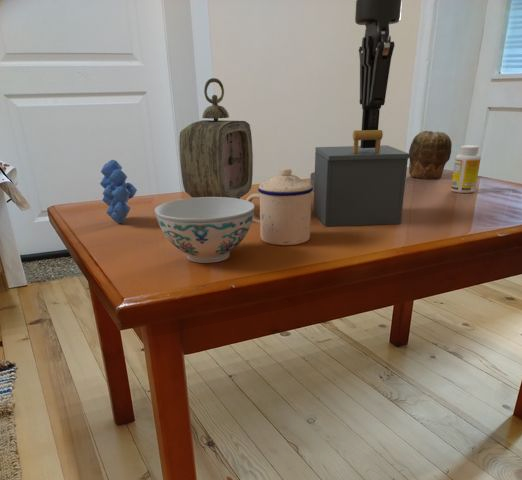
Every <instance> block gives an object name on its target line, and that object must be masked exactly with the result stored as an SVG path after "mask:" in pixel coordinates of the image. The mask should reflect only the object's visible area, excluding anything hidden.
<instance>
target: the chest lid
mask: <svg viewBox="0 0 522 480" xmlns="http://www.w3.org/2000/svg"><path fill="white" fill-rule="evenodd" d="M383 135H384V132H383V129H378V130H362V129H361V130H353V132H352V140H353V145H347V146H345V145H343V146H316V147H315V148H314V149H315V151H314V152H317V153H319V154H320V155H322V156H323V157H324V158H326V159H327V160H329V161H333V160H369V159H404V158H408V159H409V158H410V154H409V152H408V151H407V152H406V151H403V150H401V149H399V148H395V147H393V146H390V145H387V144H385V145H384V144H383V145H382V144H381V143H382V142H381V141H382V139H383V137H384V136H383ZM361 140H376V145H375V148H361V147H360V146H361V145H359V141H361Z"/></svg>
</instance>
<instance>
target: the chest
mask: <svg viewBox="0 0 522 480" xmlns="http://www.w3.org/2000/svg"><path fill="white" fill-rule="evenodd" d="M408 161H409V158H404V159H369V160H333V161H329V160H327V159H326V158H324V157H323V156H322V155H320V154H319V153H317V152H316V151H314V172H315V179H314V192H313V210H312V211H313V213H314V214H315V216H316V217H317V218H318V220H319V221H320V222H321V224H322V225H323V226H324V227H347V226H348V227H350V226H352V227H353V226H374V225H376V226H378V225H400V224H401V223H402V215H403V206H404V198H405V190H406V189H405V187H406V180H407V171H408V170H407V169H408V164H409V163H408Z"/></svg>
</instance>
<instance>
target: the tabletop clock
mask: <svg viewBox="0 0 522 480" xmlns="http://www.w3.org/2000/svg"><path fill="white" fill-rule="evenodd" d="M212 83H217V84H218V85H219V87H220V89H221V94H220V97H218V95H217V94H213V95H212V96H211V98H210V97H209V96H208V88H209V86H210V84H212ZM203 92H204V97H205V100H206V101H207V102H208V103H209V104H211V105H209V106H207V107H206V108H205V109H204V110H203V113H202V116H201V120H199V121H195V122H191V123H190V124H188V125H187V126H185V127H184V128H183V129H181V131H180V132H179V138H178V142H179V143H178V146H179V164H180V173H181V182H182V185H183V189H184V192H185V193H186V194H187V195H188V196H190V198H198V197H228V198H237V199H241V198H242V197H244V196H246V195H248V193H249V192H250V191H251V189H252V184H253V176H254V175H253V173H254V172H253V171H254V169H253V168H254V154H253V153H254V152H253V137H252V130H251V124H250V123H249V122H248V121H246V120H219V119H227V118H228V119H229V118H230V115H229V112H228V110H227V108H226V107H224V106H222V105H219V103H220V102H222V101H223V99H224V96H225V88H224V85H223V82H222V81H221V80H220V79H218V78H216V77H212V78H209V79H207V81H206V82H205V85H204V90H203ZM204 119H205V120H204ZM206 119H207V120H206Z"/></svg>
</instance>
